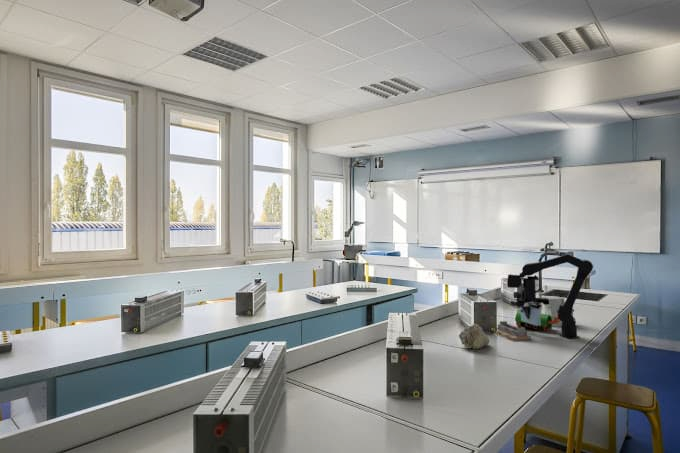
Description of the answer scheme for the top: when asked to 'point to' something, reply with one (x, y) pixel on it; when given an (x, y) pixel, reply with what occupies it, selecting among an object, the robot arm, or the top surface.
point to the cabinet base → (512, 331)
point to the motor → (545, 324)
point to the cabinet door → (531, 316)
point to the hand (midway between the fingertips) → (530, 318)
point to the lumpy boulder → (473, 337)
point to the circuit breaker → (554, 307)
